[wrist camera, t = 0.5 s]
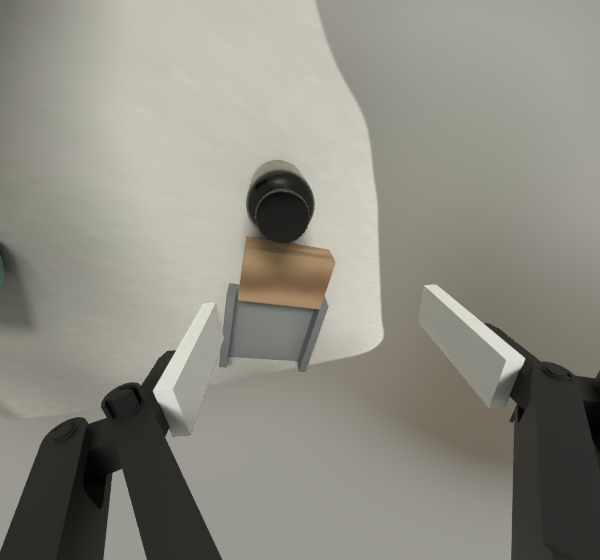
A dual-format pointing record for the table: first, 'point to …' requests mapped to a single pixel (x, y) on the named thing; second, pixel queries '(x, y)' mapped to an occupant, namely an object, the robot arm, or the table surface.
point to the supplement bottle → (280, 201)
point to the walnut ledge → (284, 273)
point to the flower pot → (1, 273)
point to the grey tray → (269, 330)
